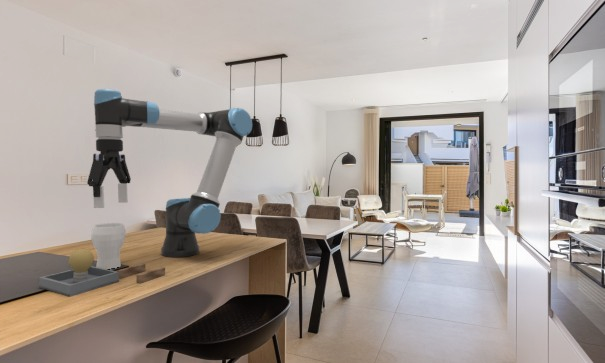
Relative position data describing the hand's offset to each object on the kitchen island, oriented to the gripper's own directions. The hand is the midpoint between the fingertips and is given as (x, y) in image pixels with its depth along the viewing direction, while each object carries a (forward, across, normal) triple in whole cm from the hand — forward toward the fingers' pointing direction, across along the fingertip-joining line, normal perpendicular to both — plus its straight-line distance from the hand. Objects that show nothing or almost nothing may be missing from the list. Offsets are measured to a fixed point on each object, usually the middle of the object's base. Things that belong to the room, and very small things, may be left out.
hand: (111, 205), depth 111 cm
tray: (+23, +9, -5) cm, 25 cm away
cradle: (+23, 0, +9) cm, 25 cm away
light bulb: (+22, +9, -5) cm, 25 cm away
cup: (+24, -9, -7) cm, 26 cm away
